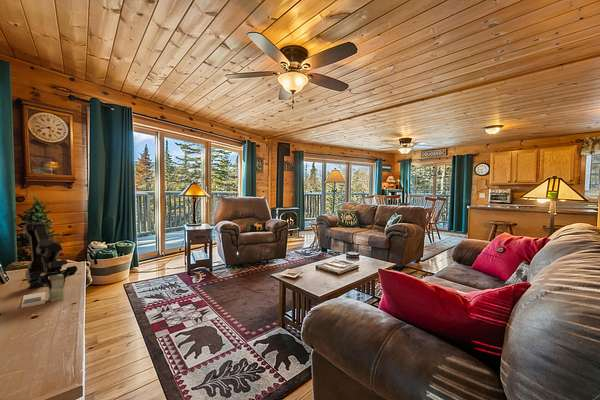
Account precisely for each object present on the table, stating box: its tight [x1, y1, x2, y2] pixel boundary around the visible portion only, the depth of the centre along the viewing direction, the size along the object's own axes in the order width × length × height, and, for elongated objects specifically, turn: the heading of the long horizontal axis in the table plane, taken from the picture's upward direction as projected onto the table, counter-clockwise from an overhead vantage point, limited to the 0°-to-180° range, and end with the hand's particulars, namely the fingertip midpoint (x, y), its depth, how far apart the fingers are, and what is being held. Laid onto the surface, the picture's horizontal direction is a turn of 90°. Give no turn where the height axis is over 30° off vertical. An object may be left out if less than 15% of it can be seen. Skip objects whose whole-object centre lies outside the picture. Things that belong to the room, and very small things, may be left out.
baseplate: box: [20, 291, 47, 309], centre depth 128 cm, size 16×8×1 cm, turn 45°
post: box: [48, 274, 65, 303], centre depth 131 cm, size 4×4×12 cm
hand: (57, 287), depth 130 cm, fingers closed on post, 4 cm apart
